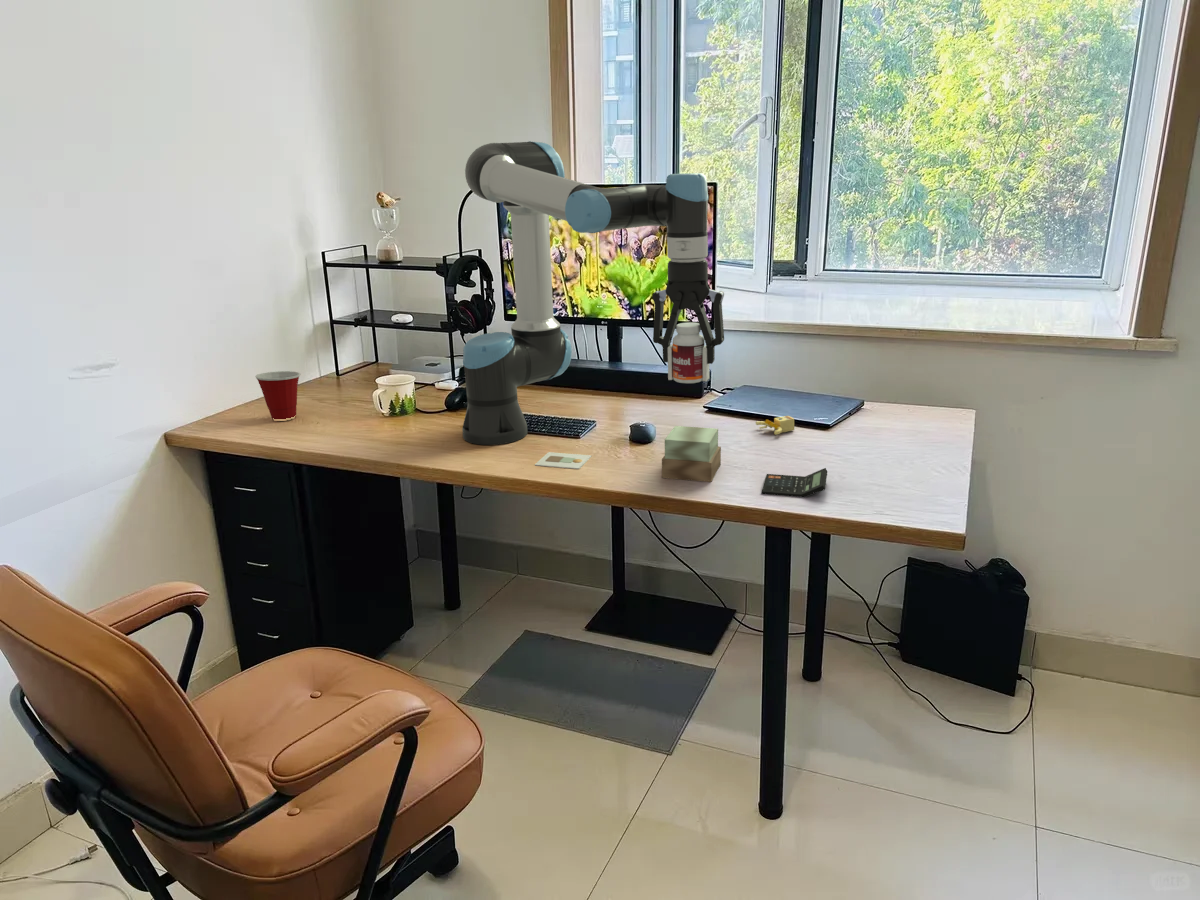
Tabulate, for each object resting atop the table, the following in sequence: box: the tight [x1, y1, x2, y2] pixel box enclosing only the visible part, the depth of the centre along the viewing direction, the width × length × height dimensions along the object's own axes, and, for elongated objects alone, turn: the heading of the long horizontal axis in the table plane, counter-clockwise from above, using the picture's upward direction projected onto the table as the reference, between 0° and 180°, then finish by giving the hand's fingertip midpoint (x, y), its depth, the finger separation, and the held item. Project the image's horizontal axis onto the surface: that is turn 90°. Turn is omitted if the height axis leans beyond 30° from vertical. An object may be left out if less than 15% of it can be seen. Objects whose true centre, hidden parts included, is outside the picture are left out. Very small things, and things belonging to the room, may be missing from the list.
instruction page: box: [534, 451, 592, 470], centre depth 183 cm, size 10×8×1 cm
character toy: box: [755, 415, 795, 435], centre depth 196 cm, size 8×3×8 cm
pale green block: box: [661, 425, 722, 483], centre depth 173 cm, size 10×10×8 cm
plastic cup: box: [255, 370, 301, 419], centre depth 218 cm, size 11×11×12 cm
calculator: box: [760, 467, 828, 498], centre depth 164 cm, size 9×12×3 cm
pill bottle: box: [672, 321, 705, 384], centre depth 166 cm, size 6×6×11 cm
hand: (688, 378), depth 168 cm, fingers closed on pill bottle, 6 cm apart
